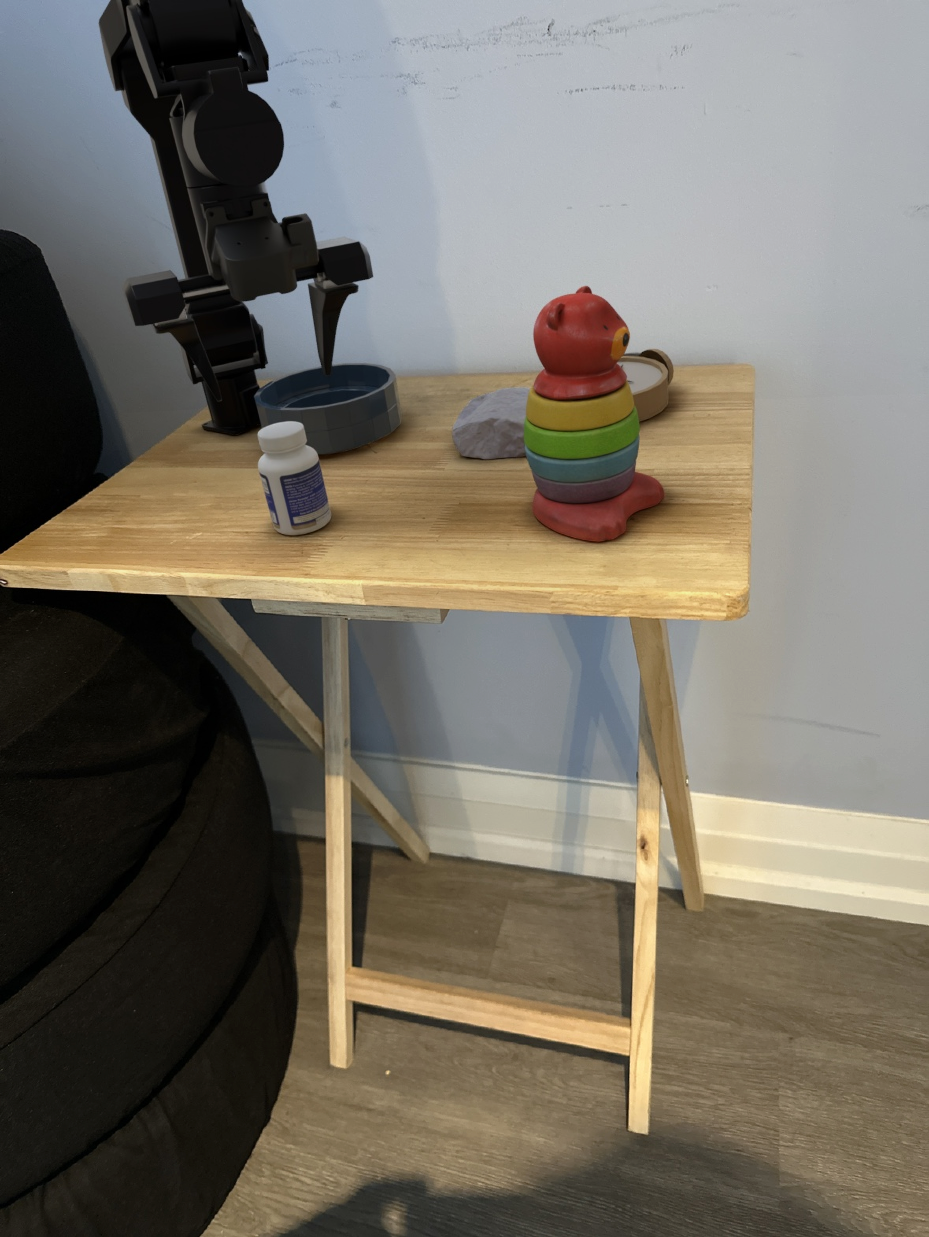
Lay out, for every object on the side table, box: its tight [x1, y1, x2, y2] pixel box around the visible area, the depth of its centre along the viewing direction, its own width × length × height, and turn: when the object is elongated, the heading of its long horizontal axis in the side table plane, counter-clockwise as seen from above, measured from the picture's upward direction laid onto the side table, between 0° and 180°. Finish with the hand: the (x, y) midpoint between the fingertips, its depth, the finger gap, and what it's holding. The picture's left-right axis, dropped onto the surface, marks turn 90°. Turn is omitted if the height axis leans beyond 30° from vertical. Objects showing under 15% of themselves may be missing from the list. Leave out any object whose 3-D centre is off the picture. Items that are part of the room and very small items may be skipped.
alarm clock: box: [617, 348, 674, 423], centre depth 99 cm, size 11×5×15 cm
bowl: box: [254, 362, 403, 456], centre depth 101 cm, size 15×15×6 cm
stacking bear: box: [524, 285, 665, 542], centre depth 74 cm, size 11×10×18 cm
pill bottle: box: [257, 421, 332, 536], centre depth 81 cm, size 5×5×9 cm
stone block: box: [451, 386, 531, 460], centre depth 95 cm, size 12×5×10 cm
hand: (274, 387), depth 77 cm, fingers open, 9 cm apart
